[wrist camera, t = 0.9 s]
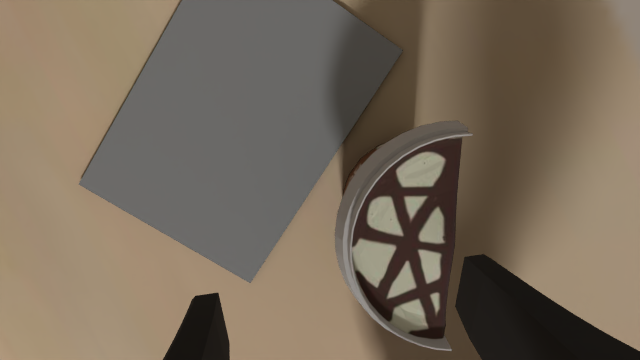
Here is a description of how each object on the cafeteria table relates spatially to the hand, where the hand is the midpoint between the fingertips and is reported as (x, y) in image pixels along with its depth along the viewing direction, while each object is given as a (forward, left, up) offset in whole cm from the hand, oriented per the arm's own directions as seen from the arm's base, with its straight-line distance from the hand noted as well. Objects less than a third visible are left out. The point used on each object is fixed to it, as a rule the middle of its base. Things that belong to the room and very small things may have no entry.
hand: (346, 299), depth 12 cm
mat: (+7, -1, -18) cm, 19 cm away
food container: (-4, -1, -18) cm, 18 cm away
